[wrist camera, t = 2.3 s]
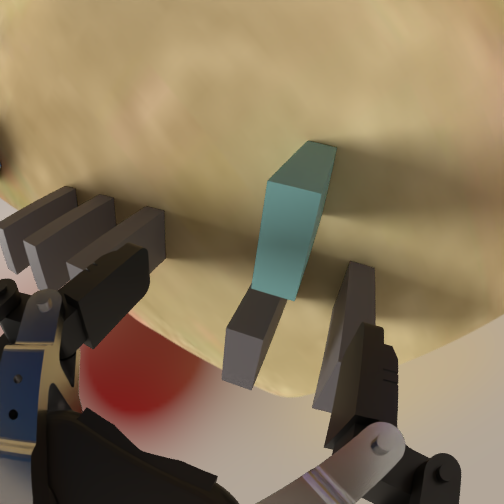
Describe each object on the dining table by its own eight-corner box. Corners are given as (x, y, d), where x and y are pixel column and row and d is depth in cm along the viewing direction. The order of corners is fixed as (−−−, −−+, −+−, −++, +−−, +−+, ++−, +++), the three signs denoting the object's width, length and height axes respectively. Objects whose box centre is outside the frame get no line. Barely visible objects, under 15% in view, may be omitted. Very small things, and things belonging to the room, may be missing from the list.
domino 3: (146, 206, 26) (65, 261, 18) (164, 210, 26) (84, 270, 17) (148, 252, 29) (81, 314, 20) (165, 258, 28) (99, 324, 20)
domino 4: (275, 240, 24) (226, 327, 15) (300, 247, 23) (263, 340, 15) (266, 290, 26) (221, 379, 18) (288, 296, 26) (251, 390, 18)
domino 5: (307, 140, 19) (267, 180, 11) (337, 147, 19) (321, 193, 10) (295, 207, 22) (251, 288, 13) (321, 214, 21) (294, 301, 13)
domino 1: (64, 186, 28) (-6, 225, 20) (75, 188, 28) (3, 229, 20) (70, 225, 31) (8, 268, 23) (81, 229, 31) (17, 274, 23)
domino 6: (350, 260, 22) (338, 361, 14) (374, 267, 22) (373, 370, 14) (332, 309, 25) (311, 407, 17) (354, 315, 25) (341, 415, 16)
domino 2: (99, 194, 27) (22, 240, 19) (113, 197, 27) (35, 246, 19) (104, 237, 30) (38, 288, 22) (118, 242, 29) (50, 296, 21)
